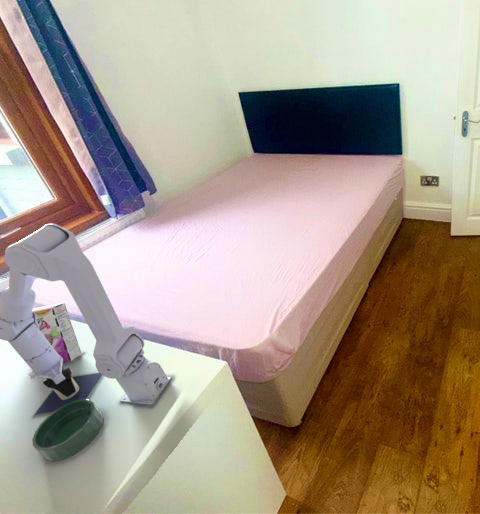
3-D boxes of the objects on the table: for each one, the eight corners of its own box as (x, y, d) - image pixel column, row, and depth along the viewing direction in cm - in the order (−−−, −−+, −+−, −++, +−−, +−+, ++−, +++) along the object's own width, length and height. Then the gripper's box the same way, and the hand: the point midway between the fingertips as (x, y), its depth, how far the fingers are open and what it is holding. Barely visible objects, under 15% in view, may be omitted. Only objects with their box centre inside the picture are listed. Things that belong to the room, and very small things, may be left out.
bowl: (115, 413, 84) (106, 401, 81) (73, 466, 74) (61, 453, 71) (76, 408, 87) (66, 396, 85) (31, 458, 77) (18, 446, 75)
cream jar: (83, 386, 93) (73, 372, 90) (69, 400, 89) (58, 387, 87) (70, 384, 94) (60, 371, 92) (56, 399, 91) (45, 385, 88)
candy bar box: (33, 369, 101) (13, 314, 98) (46, 361, 106) (28, 308, 103) (71, 362, 100) (52, 307, 98) (83, 354, 105) (65, 301, 102)
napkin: (104, 373, 96) (103, 372, 96) (81, 408, 87) (80, 407, 87) (62, 379, 97) (61, 378, 97) (35, 415, 88) (34, 414, 87)
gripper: (10, 351, 86) (42, 388, 93) (25, 375, 78) (60, 414, 84) (42, 333, 91) (71, 370, 98) (60, 353, 82) (90, 392, 89)
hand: (67, 389), depth 91 cm, fingers closed on cream jar, 4 cm apart
